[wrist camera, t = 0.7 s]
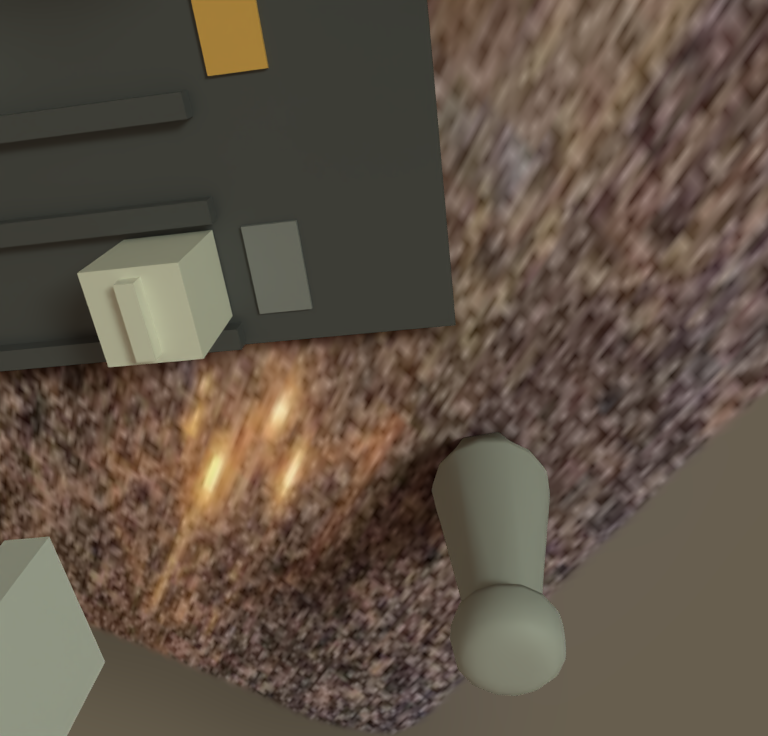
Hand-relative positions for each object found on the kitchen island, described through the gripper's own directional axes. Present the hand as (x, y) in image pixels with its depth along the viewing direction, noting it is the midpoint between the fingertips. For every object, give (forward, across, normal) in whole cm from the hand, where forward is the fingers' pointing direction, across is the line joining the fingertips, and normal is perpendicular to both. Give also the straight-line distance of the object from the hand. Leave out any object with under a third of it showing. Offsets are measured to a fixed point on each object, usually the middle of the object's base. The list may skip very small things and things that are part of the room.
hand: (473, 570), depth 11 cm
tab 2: (+21, -12, -1) cm, 24 cm away
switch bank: (+23, -14, +4) cm, 27 cm away
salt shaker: (+23, +1, -14) cm, 27 cm away
